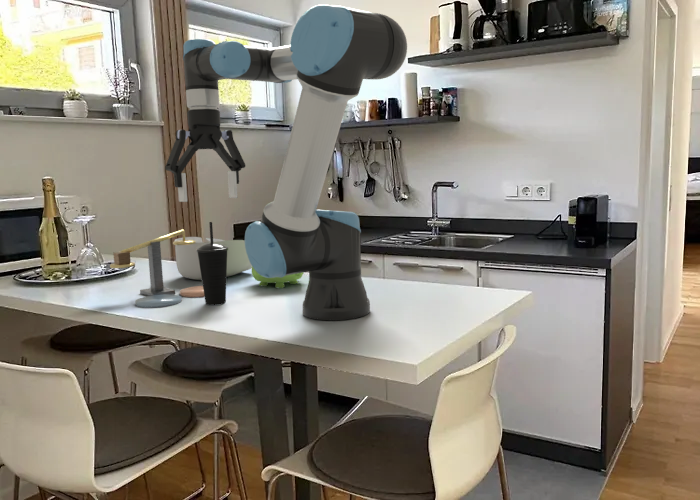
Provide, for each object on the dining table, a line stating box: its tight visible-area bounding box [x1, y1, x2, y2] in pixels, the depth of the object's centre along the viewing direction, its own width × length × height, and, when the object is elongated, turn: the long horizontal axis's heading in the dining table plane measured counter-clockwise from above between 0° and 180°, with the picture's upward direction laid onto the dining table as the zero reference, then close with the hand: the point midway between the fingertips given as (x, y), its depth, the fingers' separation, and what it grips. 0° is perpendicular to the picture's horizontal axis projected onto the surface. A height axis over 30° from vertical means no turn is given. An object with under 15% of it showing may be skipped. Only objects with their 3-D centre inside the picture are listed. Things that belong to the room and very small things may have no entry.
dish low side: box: [135, 294, 183, 309], centre depth 156 cm, size 11×11×1 cm
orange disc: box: [179, 285, 205, 298], centre depth 166 cm, size 11×11×1 cm
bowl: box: [174, 236, 252, 281], centre depth 189 cm, size 20×19×12 cm
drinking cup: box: [196, 221, 228, 306], centre depth 152 cm, size 8×8×20 cm
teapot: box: [251, 267, 305, 289], centre depth 174 cm, size 16×14×13 cm
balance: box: [109, 228, 196, 297], centre depth 165 cm, size 8×24×16 cm, turn 133°
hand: (208, 199), depth 150 cm, fingers open, 13 cm apart
